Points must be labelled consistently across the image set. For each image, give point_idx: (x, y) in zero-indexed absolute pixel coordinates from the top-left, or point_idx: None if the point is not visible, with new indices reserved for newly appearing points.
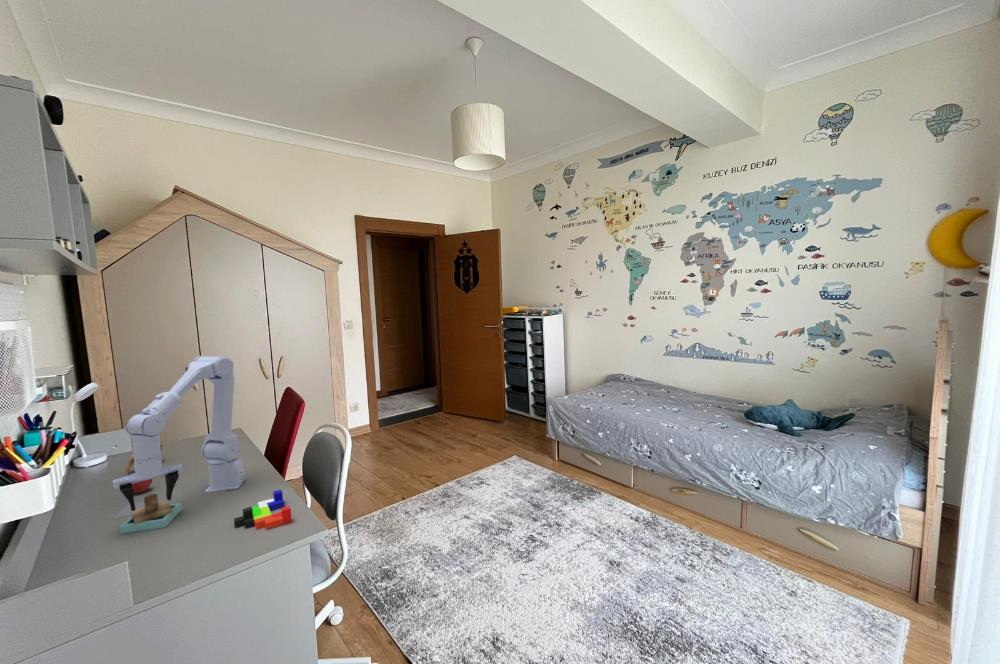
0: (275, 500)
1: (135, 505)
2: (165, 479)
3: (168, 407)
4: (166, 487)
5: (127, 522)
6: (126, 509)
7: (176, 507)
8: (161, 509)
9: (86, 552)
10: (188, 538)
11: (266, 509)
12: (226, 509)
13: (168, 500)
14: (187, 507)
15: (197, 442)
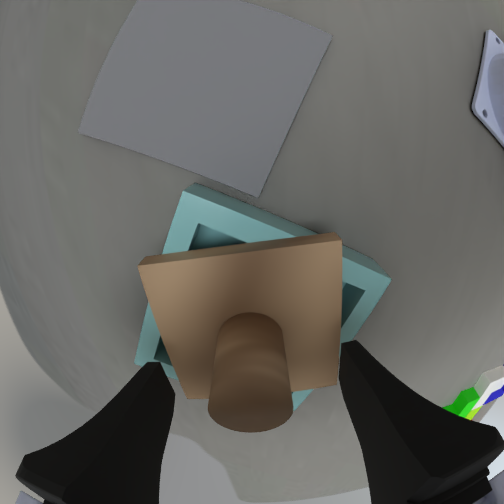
0: (502, 388)
1: (167, 18)
2: (403, 442)
3: None
4: (372, 399)
5: (153, 350)
6: (128, 48)
7: (359, 325)
8: (295, 361)
9: (91, 372)
10: (326, 443)
11: (469, 418)
12: (457, 344)
13: (340, 376)
14: (397, 230)
15: None
